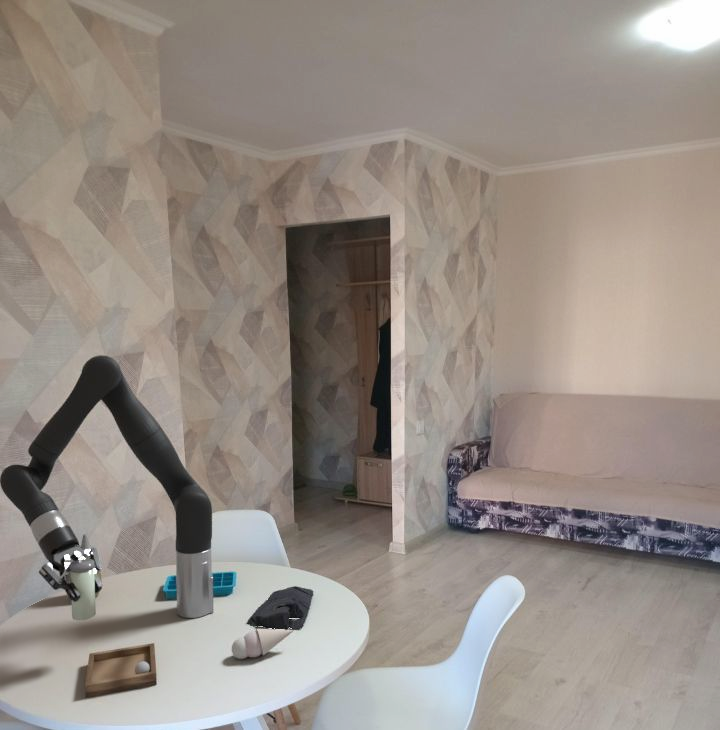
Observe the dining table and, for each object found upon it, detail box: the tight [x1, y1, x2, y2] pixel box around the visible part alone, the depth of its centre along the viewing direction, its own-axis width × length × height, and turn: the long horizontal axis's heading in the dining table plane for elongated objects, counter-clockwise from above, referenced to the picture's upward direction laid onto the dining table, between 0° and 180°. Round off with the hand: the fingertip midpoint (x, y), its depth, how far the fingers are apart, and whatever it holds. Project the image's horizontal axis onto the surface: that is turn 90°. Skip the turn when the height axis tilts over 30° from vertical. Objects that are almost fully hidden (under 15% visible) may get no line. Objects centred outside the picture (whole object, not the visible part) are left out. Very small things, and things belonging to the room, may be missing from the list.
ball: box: [135, 661, 150, 674], centre depth 137 cm, size 3×3×3 cm
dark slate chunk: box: [246, 585, 314, 630], centre depth 171 cm, size 15×22×5 cm
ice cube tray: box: [162, 570, 237, 600], centre depth 186 cm, size 12×20×3 cm, turn 100°
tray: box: [84, 642, 158, 698], centre depth 140 cm, size 14×14×2 cm
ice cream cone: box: [231, 628, 295, 660], centre depth 148 cm, size 6×6×15 cm
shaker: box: [69, 559, 97, 621], centre depth 145 cm, size 5×5×12 cm
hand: (88, 594), depth 144 cm, fingers closed on shaker, 5 cm apart
